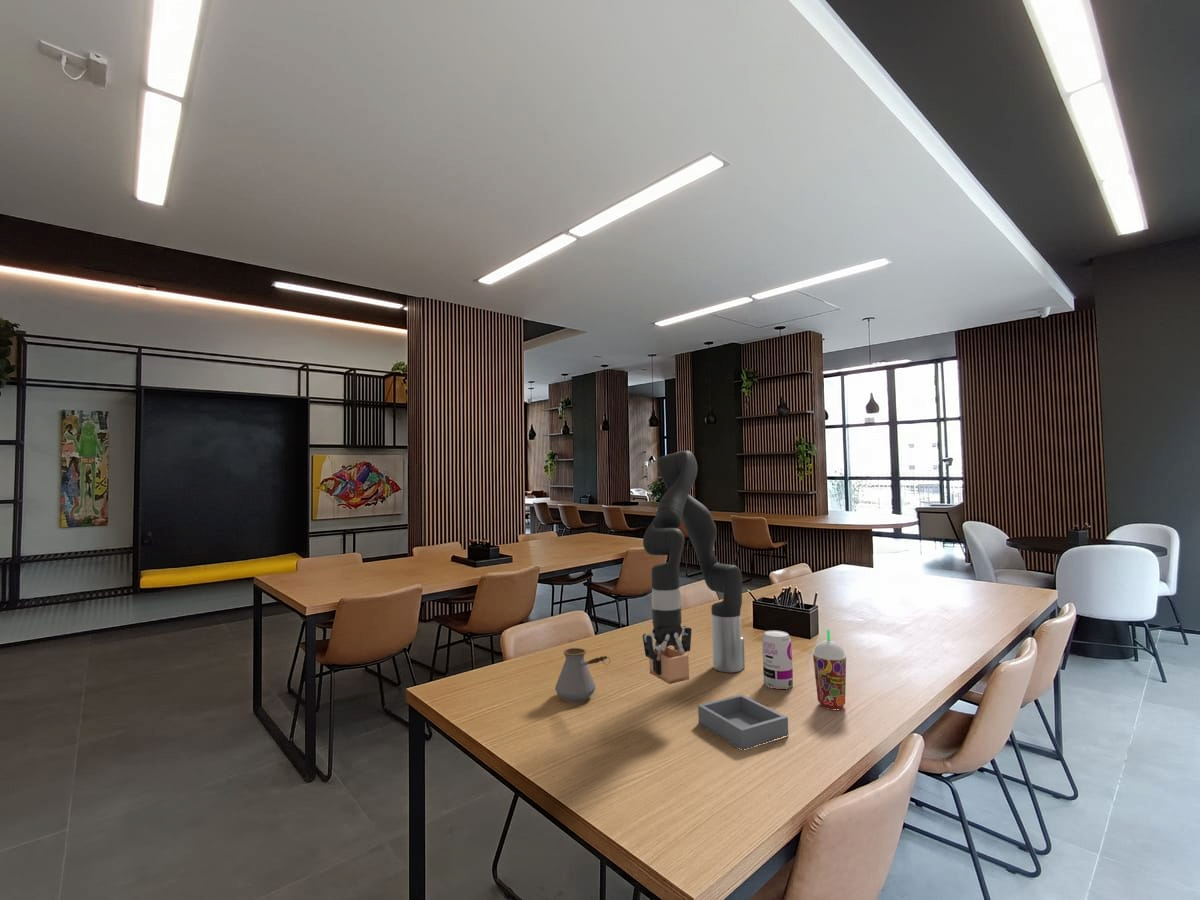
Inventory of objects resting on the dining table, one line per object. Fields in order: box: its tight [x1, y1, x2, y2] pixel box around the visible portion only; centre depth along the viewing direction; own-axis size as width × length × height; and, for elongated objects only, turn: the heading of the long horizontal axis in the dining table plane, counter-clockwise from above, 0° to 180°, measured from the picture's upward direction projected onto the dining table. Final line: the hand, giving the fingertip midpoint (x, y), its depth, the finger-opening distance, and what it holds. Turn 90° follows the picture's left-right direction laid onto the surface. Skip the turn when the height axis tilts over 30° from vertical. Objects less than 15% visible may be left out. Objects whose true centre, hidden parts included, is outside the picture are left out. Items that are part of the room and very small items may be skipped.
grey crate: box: [697, 694, 789, 751], centre depth 132 cm, size 14×16×4 cm
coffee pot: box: [555, 647, 611, 704], centre depth 151 cm, size 21×12×15 cm, turn 36°
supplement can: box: [761, 629, 794, 690], centre depth 161 cm, size 8×8×15 cm
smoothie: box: [812, 629, 847, 711], centre depth 145 cm, size 8×8×20 cm
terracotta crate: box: [648, 646, 690, 685], centre depth 140 cm, size 6×9×6 cm, turn 28°
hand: (668, 671), depth 140 cm, fingers closed on terracotta crate, 6 cm apart
